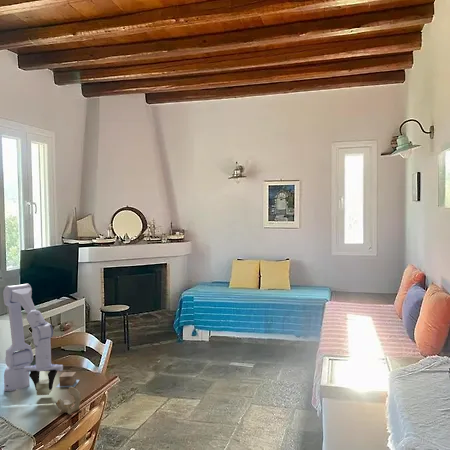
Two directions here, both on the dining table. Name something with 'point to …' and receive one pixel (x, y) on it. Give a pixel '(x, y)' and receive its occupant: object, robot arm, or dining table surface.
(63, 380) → the walnut base
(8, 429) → the dining table surface
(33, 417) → the dining table surface
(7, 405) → the dining table surface
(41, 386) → the sage block
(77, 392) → the beige lumpy piece
